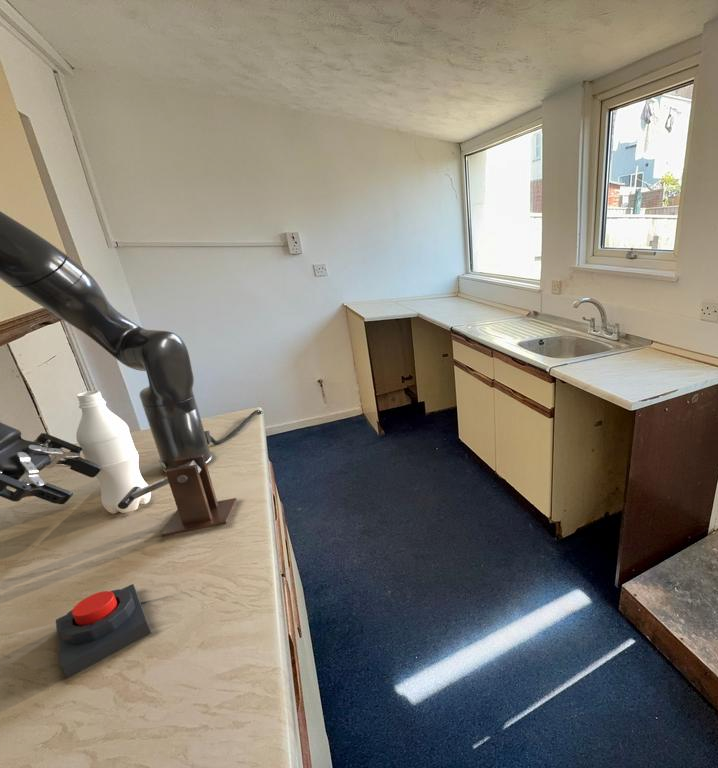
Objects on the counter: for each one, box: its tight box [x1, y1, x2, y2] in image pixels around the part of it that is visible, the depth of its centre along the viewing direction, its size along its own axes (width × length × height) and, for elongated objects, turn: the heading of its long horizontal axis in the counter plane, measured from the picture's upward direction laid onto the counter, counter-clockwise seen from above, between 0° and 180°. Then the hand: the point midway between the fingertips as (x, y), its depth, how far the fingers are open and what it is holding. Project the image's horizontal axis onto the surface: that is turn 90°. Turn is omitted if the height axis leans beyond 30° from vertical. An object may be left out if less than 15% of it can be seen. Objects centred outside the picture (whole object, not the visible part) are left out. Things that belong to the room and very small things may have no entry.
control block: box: [55, 583, 152, 679], centre depth 54 cm, size 10×8×4 cm
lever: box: [118, 460, 202, 509], centre depth 73 cm, size 12×5×2 cm, turn 111°
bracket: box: [160, 455, 238, 538], centre depth 75 cm, size 10×8×13 cm
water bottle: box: [75, 390, 152, 515], centre depth 77 cm, size 7×7×25 cm
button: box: [71, 590, 117, 626], centre depth 53 cm, size 4×4×2 cm
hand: (84, 485), depth 69 cm, fingers open, 8 cm apart
